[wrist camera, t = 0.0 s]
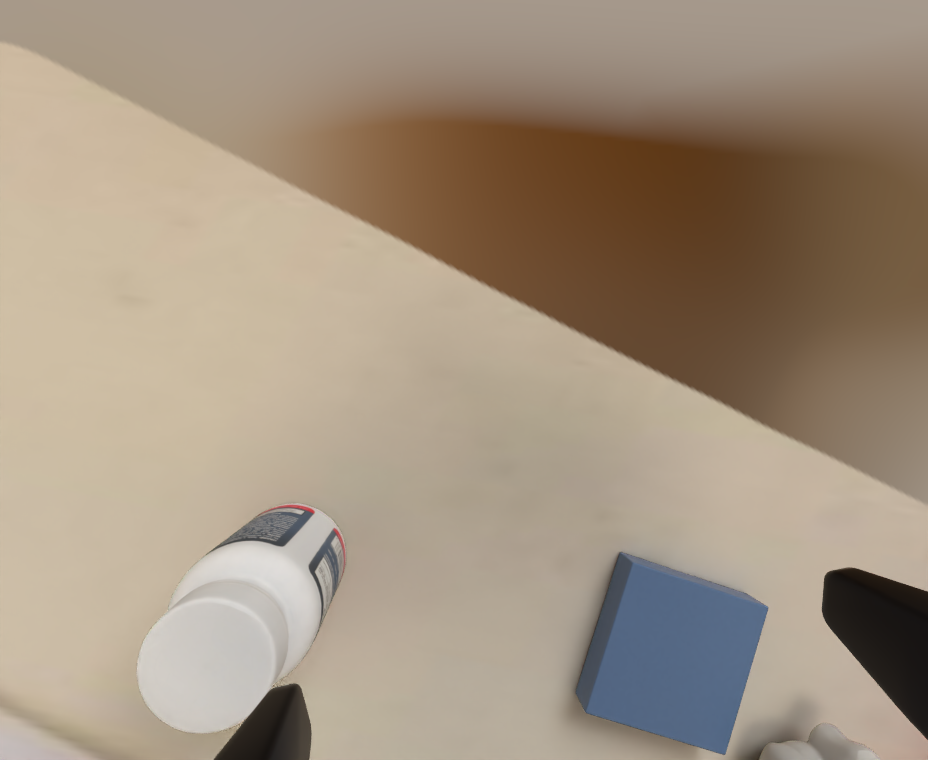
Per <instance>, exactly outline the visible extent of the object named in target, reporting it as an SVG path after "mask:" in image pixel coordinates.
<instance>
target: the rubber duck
mask: <svg viewBox="0 0 928 760" xmlns="http://www.w3.org/2000/svg"><path fill="white" fill-rule="evenodd" d="M759 760H880V758H879V757H878V756H877V755H876V754H875V753H874V752H873V751H872V750H871V749H869V748H868V747H866V746H865V745H862V744H860V743H856V742H853V741H850V740H849V739H847V738H846V737H845V736H844V735H843V733H842V732H841V731H840V730H839V729H838V728H837V727H835V726H834V725H832V724H827V723H822V724H819V725H817V726H816V727H815V728H814V729H813V730H812V732H811V734H810V736H809V740H808V742H803V741H795V740H793V741H785V742H782V743H774V742H771V743H768V744H767V745H766V746H765V748H764V749H763V751H762V753H761V755H760V757H759Z"/></svg>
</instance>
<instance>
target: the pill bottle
mask: <svg viewBox="0 0 928 760" xmlns="http://www.w3.org/2000/svg"><path fill="white" fill-rule="evenodd" d="M345 565H346V546H345V541H344V538H343V536H342V533H341V531H340V530H339V528H338V526H337V525H336V524H335V522H334V521H333V520H332V519H331V518H330V517H329V516H328V515H326V514H325V513H323V512H322V511H320V510H318V509H316V508H314V507H312V506H308V505H305V504H297V503H290V504H283V505H278V506H275V507H273V508H270V509H268V510H266V511H264V512H263V513H261V514H259V515H258V516H256V517H255V518H254V519H253V520H251V521H250V522H249V523H247V524H246V525H245V526H243V527H242V528H241V529H240V530H238V531H237V532H236V533H234V534H233V535H232V536H230V537H229V538H228V539H226V540H225V541H224V542H222V543H221V544H220V545H218V546H217V547H215V548H214V549H213V550H211V551H210V552H209V553H207V554H206V555H205V556H204V557H202V558H201V559H200V560H199V561H198V562H197V563H195V564H194V565H193V566H192V567H191V568H190V569H189V570H188V572H187V573H186V574H185V575H184V576H183V578H182V579H181V580H180V582H179V584H178V585H177V587H176V589H175V591H174V593H173V595H172V597H171V600H170V603H169V606H168V611H167V612H166V613H165V614H164V615H163V616H162V617H161V618H160V619H159V620H158V621H157V622H156V623H155V624H154V625H153V627H152V628H151V629H150V631H149V632H148V634H147V635H146V637H145V639H144V641H143V643H142V646H141V649H140V652H139V656H138V661H137V682H138V686H139V690H140V693H141V695H142V698H143V700H144V702H145V703H146V705H147V707H148V708H149V709H150V710H151V711H152V712H153V713H154V715H155V716H156V717H157V718H158V719H160V720H161V721H163V722H164V723H166V724H167V725H169V726H171V727H172V728H175V729H177V730H180V731H184V732H188V733H201V734H207V733H214V732H218V731H222V730H225V729H228V728H231V727H233V726H235V725H237V724H238V723H240V722H242V721H243V720H245V719H246V718H247V717H248V716H249V715H250V714H251V713H252V711H253V710H254V709H255V708H256V706H257V705H258V704H259V703H260V701H261V700H262V699H263V698H264V696H265V695H266V694H267V693H268V692H269V691H270V689H271V687H272V686H273V684H274V683H276V682H278V681H279V680H281V679H282V678H284V677H285V676H286V675H288V674H289V673H290V672H291V671H292V670H293V669H294V668H295V667H296V666H297V665H298V664H299V663H300V662H301V660H302V659H303V658H304V657H305V655H306V654H307V652H308V650H309V649H310V647H311V645H312V643H313V641H314V639H315V637H316V635H317V633H318V631H319V628H320V626H321V624H322V621H323V619H324V617H325V615H326V612H327V610H328V608H329V606H330V603H331V601H332V599H333V597H334V594H335V592H336V590H337V587H338V585H339V583H340V581H341V578H342V575H343V573H344V569H345Z"/></svg>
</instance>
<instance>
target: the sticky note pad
mask: <svg viewBox="0 0 928 760" xmlns="http://www.w3.org/2000/svg"><path fill="white" fill-rule="evenodd" d="M767 611H768V607H767V606H766V605H764V604H762V603H761V602H759V601H758V600H756V599H754V598H753V597H751V596H750V595H748V594H745V593H742V592H739V591H736V590H733V589H730V588H727V587H724V586H721V585H718V584H715V583H712V582H709V581H706V580H703V579H700V578H697V577H694V576H691V575H688V574H685V573H682V572H679V571H676V570H673V569H670V568H667V567H664V566H661V565H658V564H655V563H652V562H649V561H646V560H643V559H640V558H637V557H634V556H631V555H628V554H625V553H622V552H620V554H619V557H618V560H617V563H616V566H615V569H614V573H613V576H612V579H611V582H610V585H609V588H608V591H607V595H606V598H605V601H604V604H603V607H602V610H601V613H600V617H599V620H598V623H597V626H596V629H595V632H594V635H593V639H592V642H591V645H590V648H589V651H588V654H587V657H586V661H585V664H584V667H583V670H582V673H581V676H580V679H579V683H578V686H577V689H576V695H577V697H578V699H579V701H580V703H581V705H582V707H583V709H584V711H585V712H586V713H588V714H591V715H594V716H597V717H601V718H604V719H607V720H611V721H614V722H617V723H621V724H624V725H627V726H630V727H634V728H637V729H640V730H644V731H647V732H650V733H654V734H657V735H660V736H664V737H667V738H670V739H673V740H677V741H680V742H683V743H687V744H690V745H693V746H697V747H700V748H703V749H706V750H710V751H713V752H716V753H720V754H723V755H725V754H726V750H727V747H728V743H729V740H730V737H731V733H732V730H733V726H734V723H735V720H736V716H737V713H738V709H739V706H740V703H741V699H742V696H743V693H744V689H745V686H746V682H747V679H748V676H749V672H750V669H751V665H752V662H753V659H754V655H755V652H756V648H757V645H758V642H759V638H760V635H761V631H762V628H763V625H764V621H765V618H766V614H767Z"/></svg>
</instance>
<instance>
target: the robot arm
mask: <svg viewBox="0 0 928 760" xmlns="http://www.w3.org/2000/svg"><path fill="white" fill-rule="evenodd" d="M822 613H823V617H824V619H825V621H826V623H827V625H828V626H829V627H830V629H831V630H832V631H833V632H834V633H835V634H836V636H837V637H838V638H839V639H840V640H841V642H842V643H843V644H844V645H845V646H846V647H847V649H848V650H849V651H850V652H851V653H852V654H853V656H854V657H855V658H856V659H857V660H858V661H859V663H860V664H861V665H862V666H863V667H864V668H865V670H866V671H867V672H868V673H869V674H870V675H871V677H872V678H873V679H874V680H875V681H876V682H877V684H878V685H879V686H880V687H881V688H882V689H883V691H884V692H885V693H886V694H887V695H888V696H889V698H890V699H891V700H892V701H893V702H894V704H895V705H896V706H897V707H898V708H899V709H900V710H901V711H902V713H903V714H904V715H905V716H906V717H907V718H908V719H909V721H910V722H911V723H912V724H913V725H914V726H915V727H916V728H917V729H918V730H919V731H920V732H921V733H922V734H923V735H924V736H925V738H926V739H927V740H928V592H927V591H924V590H921V589H918V588H915V587H912V586H909V585H906V584H903V583H899V582H896V581H893V580H890V579H887V578H884V577H881V576H878V575H875V574H872V573H869V572H866V571H863V570H859V569H856V568H842V569H838V570H833V571H830V572H828V573H827V574H826V575H825V578H824V588H823V601H822ZM310 748H311V724H310V719H309V716H308V712H307V708H306V704H305V700H304V697H303V693H302V690H301V687H300V686H299V685H298V684H289V685H285V686H280V687H275V688H273V689H271V690H270V691H269V692H268V693H267V694H266V695H265V696H264V698H263V699H262V700H261V701H260V703H259V704H258V705H257V706H256V708H255V709H254V710H253V711H252V713H251V714H250V715H249V716H248V718H247V719H246V720H245V721H244V723H243V724H242V725H241V726H240V728H239V729H238V730H237V731H236V732H235V734H234V735H233V736H232V737H231V739H230V740H229V741H228V742H227V744H226V745H225V746H224V747H223V749H222V750H221V751H220V752H219V754H218V755H217V756H216V757H215V759H214V760H309V757H310Z"/></svg>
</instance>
